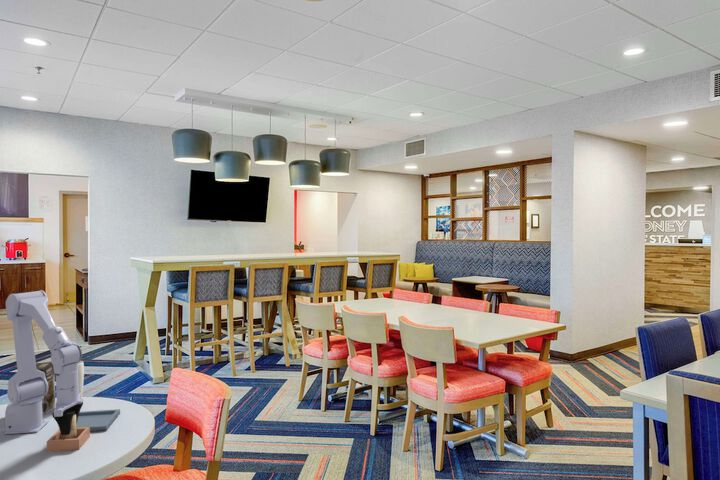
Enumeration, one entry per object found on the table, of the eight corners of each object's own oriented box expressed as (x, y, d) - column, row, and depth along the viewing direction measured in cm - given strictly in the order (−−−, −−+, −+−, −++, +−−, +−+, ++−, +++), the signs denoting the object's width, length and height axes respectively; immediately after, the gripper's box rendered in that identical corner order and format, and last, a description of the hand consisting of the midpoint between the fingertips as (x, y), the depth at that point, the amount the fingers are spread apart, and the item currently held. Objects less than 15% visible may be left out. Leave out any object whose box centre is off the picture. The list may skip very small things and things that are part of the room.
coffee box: (44, 415, 171) (43, 369, 171) (24, 416, 170) (22, 369, 170) (56, 405, 180) (55, 361, 180) (36, 406, 179) (35, 362, 179)
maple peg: (59, 447, 148) (58, 419, 147) (64, 441, 152) (63, 413, 151) (73, 446, 148) (73, 418, 148) (78, 440, 152) (78, 413, 152)
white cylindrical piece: (89, 401, 185) (87, 360, 184) (76, 408, 178) (75, 366, 177) (71, 400, 185) (70, 360, 185) (59, 407, 179) (57, 365, 178)
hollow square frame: (47, 451, 145) (46, 441, 145) (59, 438, 154) (59, 429, 153) (79, 449, 147) (78, 439, 146) (89, 436, 155) (89, 427, 155)
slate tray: (58, 433, 157) (58, 429, 157) (76, 416, 171) (76, 411, 171) (106, 430, 159) (106, 426, 159) (120, 413, 173) (120, 409, 173)
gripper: (72, 394, 143) (73, 440, 143) (90, 377, 157) (91, 420, 158) (45, 395, 142) (46, 442, 142) (66, 379, 156) (67, 421, 157)
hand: (68, 431), depth 150 cm, fingers closed on maple peg, 4 cm apart
